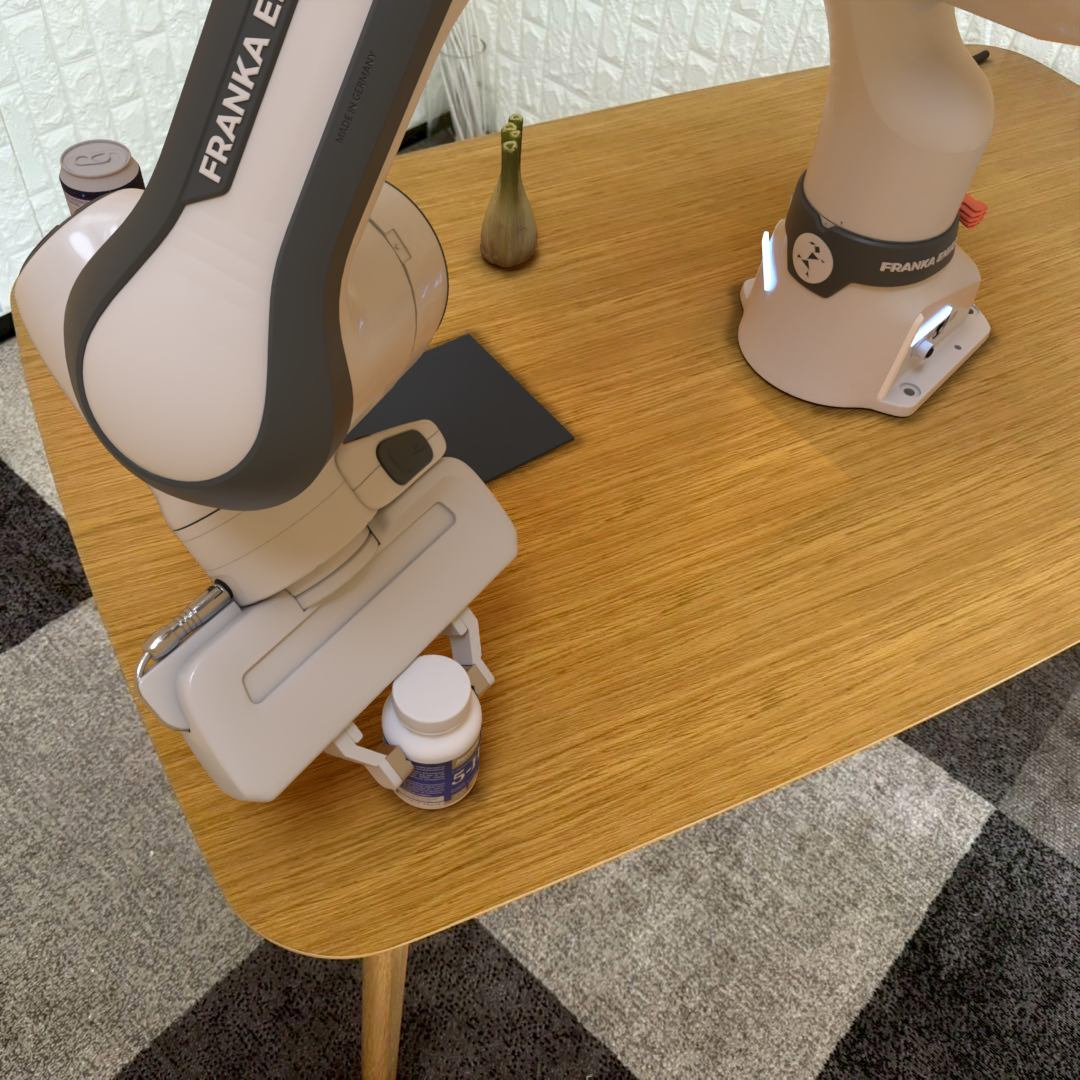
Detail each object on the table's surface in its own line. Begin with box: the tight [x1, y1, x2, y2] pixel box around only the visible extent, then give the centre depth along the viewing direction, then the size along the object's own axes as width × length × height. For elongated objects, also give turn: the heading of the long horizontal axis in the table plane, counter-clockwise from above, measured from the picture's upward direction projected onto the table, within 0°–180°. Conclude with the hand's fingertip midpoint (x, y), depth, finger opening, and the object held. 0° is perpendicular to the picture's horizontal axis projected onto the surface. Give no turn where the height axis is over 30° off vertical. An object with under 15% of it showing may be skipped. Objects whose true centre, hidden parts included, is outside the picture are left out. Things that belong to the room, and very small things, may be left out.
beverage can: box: [58, 138, 146, 216], centre depth 78 cm, size 6×6×12 cm
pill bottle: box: [381, 654, 483, 810], centre depth 54 cm, size 5×5×9 cm
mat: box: [344, 333, 575, 485], centre depth 76 cm, size 16×14×1 cm
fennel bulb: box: [479, 113, 539, 268], centre depth 85 cm, size 6×5×12 cm
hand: (442, 733), depth 54 cm, fingers closed on pill bottle, 5 cm apart
